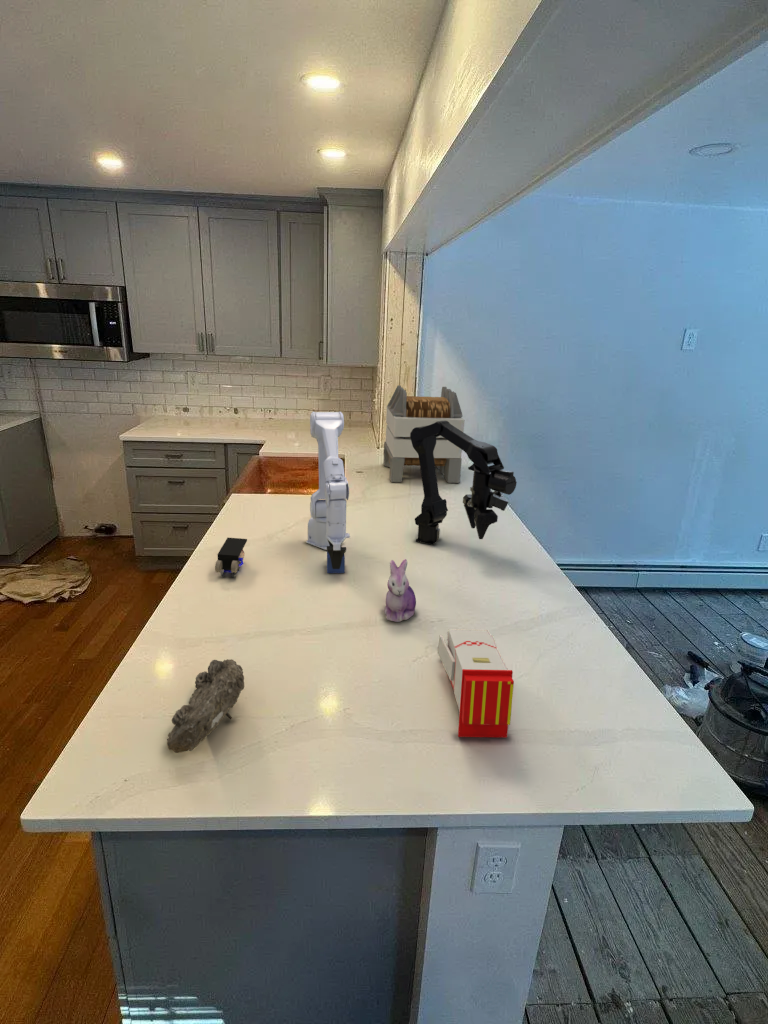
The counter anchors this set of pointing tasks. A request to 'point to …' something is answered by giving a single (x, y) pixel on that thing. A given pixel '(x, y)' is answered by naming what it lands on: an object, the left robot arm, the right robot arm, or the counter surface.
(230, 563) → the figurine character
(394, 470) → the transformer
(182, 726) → the fossil
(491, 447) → the right robot arm
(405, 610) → the figurine
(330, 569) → the blue cube
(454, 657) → the toy
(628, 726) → the counter surface
